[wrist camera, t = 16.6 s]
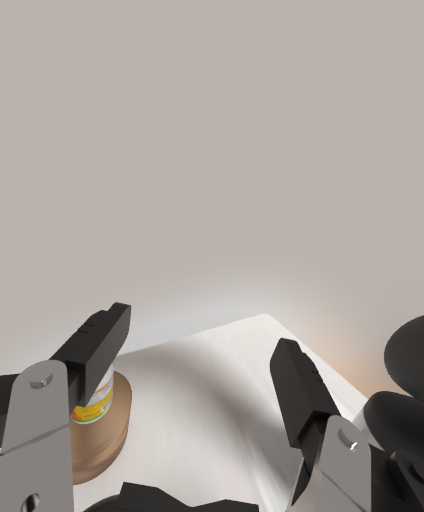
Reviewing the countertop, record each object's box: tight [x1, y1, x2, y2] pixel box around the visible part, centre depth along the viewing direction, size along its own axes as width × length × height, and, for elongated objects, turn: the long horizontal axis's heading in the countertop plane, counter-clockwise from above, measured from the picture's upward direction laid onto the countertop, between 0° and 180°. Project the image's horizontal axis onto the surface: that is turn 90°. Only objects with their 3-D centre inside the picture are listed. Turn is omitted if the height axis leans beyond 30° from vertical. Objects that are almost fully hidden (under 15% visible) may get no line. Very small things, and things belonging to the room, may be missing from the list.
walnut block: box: [69, 371, 132, 485], centre depth 31 cm, size 11×11×8 cm
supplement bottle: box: [70, 362, 114, 424], centre depth 27 cm, size 5×5×10 cm
